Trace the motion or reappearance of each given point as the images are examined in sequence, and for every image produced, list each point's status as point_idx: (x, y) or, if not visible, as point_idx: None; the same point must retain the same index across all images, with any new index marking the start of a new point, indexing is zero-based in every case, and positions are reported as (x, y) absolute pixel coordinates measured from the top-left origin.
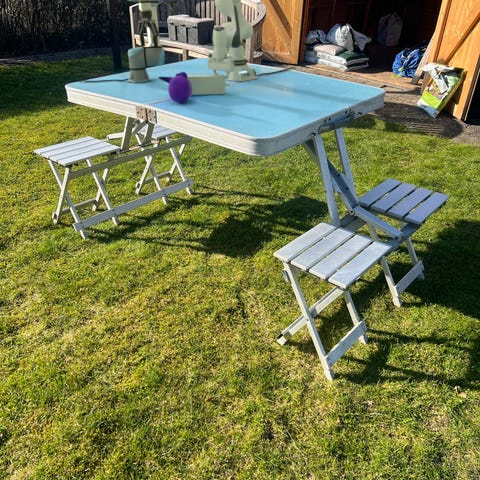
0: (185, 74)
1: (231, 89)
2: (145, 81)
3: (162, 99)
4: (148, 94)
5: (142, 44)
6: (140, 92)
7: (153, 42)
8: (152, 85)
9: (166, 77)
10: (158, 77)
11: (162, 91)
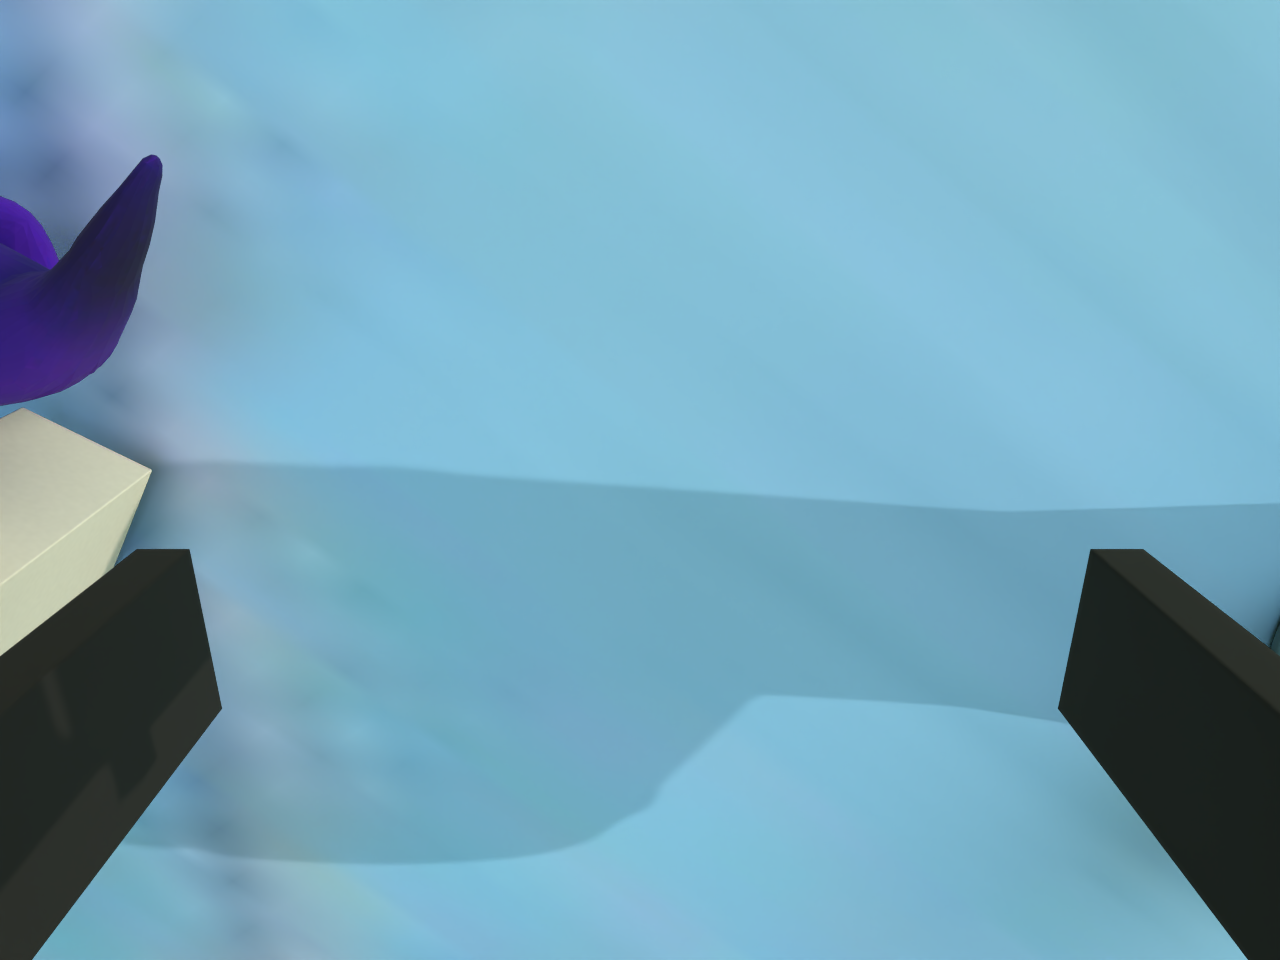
0: None
1: (80, 946)
2: (1276, 648)
3: (163, 86)
4: (611, 167)
5: (1128, 639)
6: (826, 176)
7: (23, 684)
8: (1030, 577)
9: (49, 275)
10: (145, 157)
11: (609, 426)
